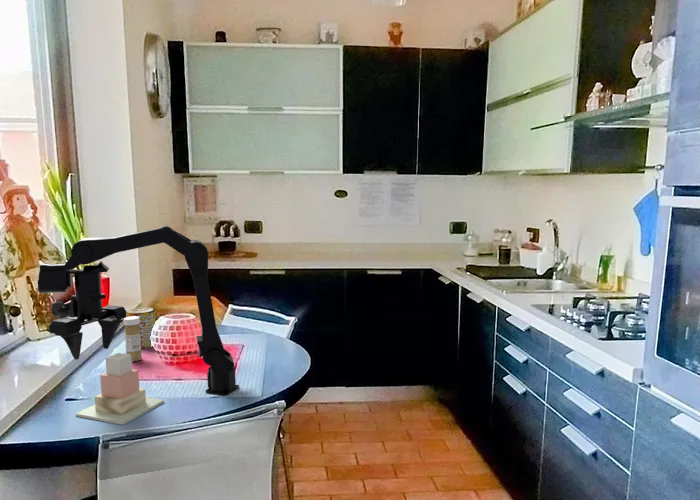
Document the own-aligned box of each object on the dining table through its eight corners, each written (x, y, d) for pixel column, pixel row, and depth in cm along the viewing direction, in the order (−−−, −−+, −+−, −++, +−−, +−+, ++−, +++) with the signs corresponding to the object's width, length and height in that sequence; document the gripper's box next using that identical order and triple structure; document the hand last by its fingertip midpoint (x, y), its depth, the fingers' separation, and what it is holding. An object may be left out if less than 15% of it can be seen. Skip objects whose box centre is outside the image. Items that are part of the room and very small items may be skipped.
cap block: (132, 370, 136) (131, 354, 136) (119, 376, 132) (118, 359, 132) (119, 368, 137) (118, 353, 137) (106, 374, 134) (105, 357, 133)
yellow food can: (122, 348, 186) (120, 312, 185) (138, 340, 195) (136, 306, 193) (146, 349, 184) (144, 313, 183) (161, 342, 193) (160, 307, 191)
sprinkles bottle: (141, 357, 176) (138, 315, 175) (142, 361, 172) (140, 318, 171) (125, 359, 174) (123, 316, 173) (126, 363, 170) (124, 319, 169)
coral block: (139, 389, 137) (138, 369, 137) (121, 398, 132) (120, 378, 131) (119, 386, 139) (118, 367, 139) (101, 395, 134) (100, 375, 133)
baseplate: (164, 402, 140) (164, 399, 140) (122, 424, 127) (122, 422, 127) (119, 394, 145) (119, 392, 145) (75, 416, 132) (75, 413, 132)
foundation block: (146, 402, 138) (145, 388, 138) (122, 415, 131) (121, 400, 130) (120, 398, 141) (119, 384, 141) (95, 410, 134) (94, 396, 133)
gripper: (92, 282, 147) (95, 340, 149) (29, 295, 129) (33, 361, 131) (126, 285, 143) (129, 345, 145) (66, 299, 126) (70, 366, 127)
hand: (91, 353), depth 137 cm, fingers open, 9 cm apart
